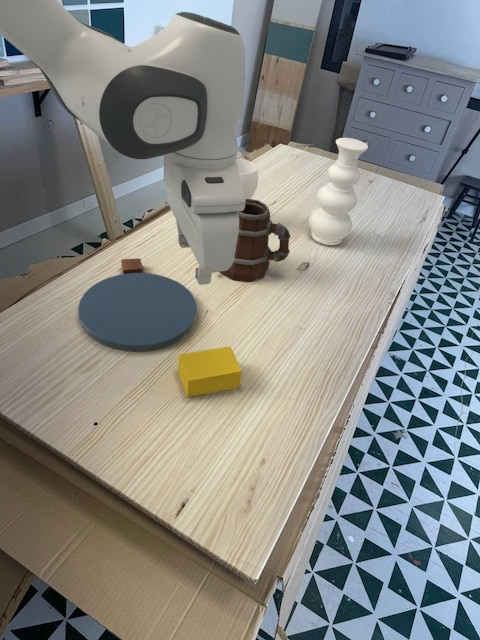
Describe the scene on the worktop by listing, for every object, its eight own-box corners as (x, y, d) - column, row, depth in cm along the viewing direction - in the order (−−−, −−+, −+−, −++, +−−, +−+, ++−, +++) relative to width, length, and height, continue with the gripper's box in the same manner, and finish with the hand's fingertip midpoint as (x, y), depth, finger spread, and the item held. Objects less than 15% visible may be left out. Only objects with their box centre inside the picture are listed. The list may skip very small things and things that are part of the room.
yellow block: (187, 397, 75) (188, 380, 72) (177, 371, 79) (178, 354, 76) (239, 387, 78) (242, 371, 75) (227, 362, 82) (230, 346, 79)
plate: (85, 360, 78) (85, 354, 77) (73, 284, 94) (73, 278, 93) (210, 341, 86) (211, 335, 85) (180, 273, 101) (180, 268, 100)
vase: (328, 254, 115) (356, 154, 99) (296, 234, 121) (318, 137, 105) (355, 243, 121) (385, 147, 105) (323, 224, 127) (348, 131, 111)
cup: (231, 208, 128) (238, 154, 118) (259, 224, 122) (268, 169, 113) (202, 218, 121) (207, 161, 112) (230, 235, 116) (237, 178, 107)
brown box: (123, 277, 97) (123, 269, 96) (121, 267, 100) (121, 259, 99) (142, 276, 99) (142, 268, 97) (140, 265, 101) (140, 258, 100)
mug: (208, 273, 102) (214, 211, 93) (227, 248, 112) (234, 189, 102) (276, 293, 100) (290, 231, 90) (290, 265, 109) (303, 207, 99)
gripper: (156, 138, 64) (155, 228, 73) (197, 207, 50) (190, 308, 59) (200, 138, 66) (194, 225, 75) (252, 204, 52) (237, 302, 61)
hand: (193, 262), depth 67 cm, fingers open, 8 cm apart
